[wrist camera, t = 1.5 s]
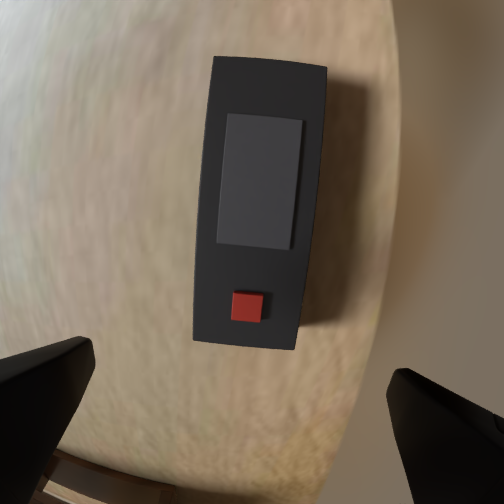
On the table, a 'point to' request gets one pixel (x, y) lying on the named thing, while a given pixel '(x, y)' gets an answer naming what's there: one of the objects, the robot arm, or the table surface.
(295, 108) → the remote
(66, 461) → the shelf
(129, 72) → the table surface
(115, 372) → the table surface
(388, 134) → the table surface
